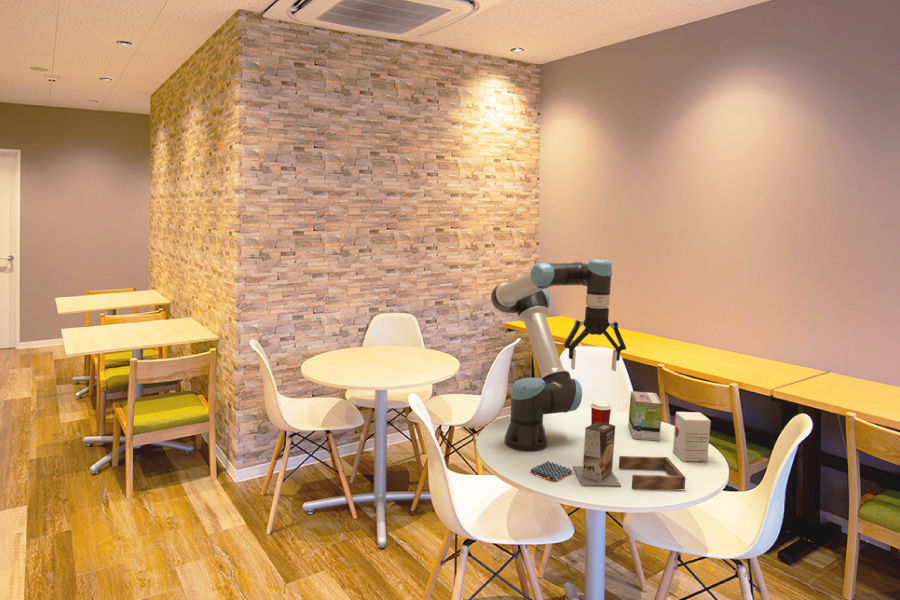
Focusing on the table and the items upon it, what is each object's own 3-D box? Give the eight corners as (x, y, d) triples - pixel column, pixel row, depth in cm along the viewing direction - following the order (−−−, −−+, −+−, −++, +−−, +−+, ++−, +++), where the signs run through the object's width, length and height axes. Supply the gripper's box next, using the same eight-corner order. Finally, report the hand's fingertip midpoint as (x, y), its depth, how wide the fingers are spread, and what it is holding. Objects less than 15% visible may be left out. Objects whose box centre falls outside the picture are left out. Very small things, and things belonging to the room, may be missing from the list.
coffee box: (600, 482, 194) (603, 432, 191) (581, 477, 197) (584, 428, 195) (612, 473, 201) (615, 425, 199) (594, 468, 205) (596, 420, 202)
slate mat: (581, 486, 192) (581, 484, 192) (572, 467, 206) (572, 466, 206) (620, 487, 192) (620, 485, 192) (609, 468, 206) (609, 466, 206)
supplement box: (671, 452, 223) (675, 411, 220) (696, 452, 223) (700, 411, 221) (681, 462, 214) (685, 419, 212) (707, 462, 214) (711, 420, 212)
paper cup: (608, 436, 236) (610, 400, 234) (611, 444, 229) (613, 406, 227) (587, 435, 237) (589, 399, 235) (589, 442, 229) (591, 405, 228)
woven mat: (527, 474, 201) (527, 468, 201) (546, 465, 209) (547, 459, 208) (555, 484, 194) (555, 478, 194) (573, 475, 201) (574, 469, 201)
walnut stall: (632, 488, 191) (633, 476, 191) (618, 467, 207) (619, 456, 207) (684, 490, 191) (685, 477, 191) (666, 468, 207) (667, 457, 207)
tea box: (660, 441, 233) (663, 403, 231) (632, 439, 234) (635, 401, 232) (653, 428, 247) (656, 391, 245) (627, 426, 249) (630, 390, 247)
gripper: (561, 307, 203) (557, 370, 206) (638, 309, 203) (633, 373, 206) (557, 303, 211) (554, 365, 214) (632, 306, 210) (627, 367, 213)
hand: (593, 369), depth 210 cm, fingers open, 13 cm apart
